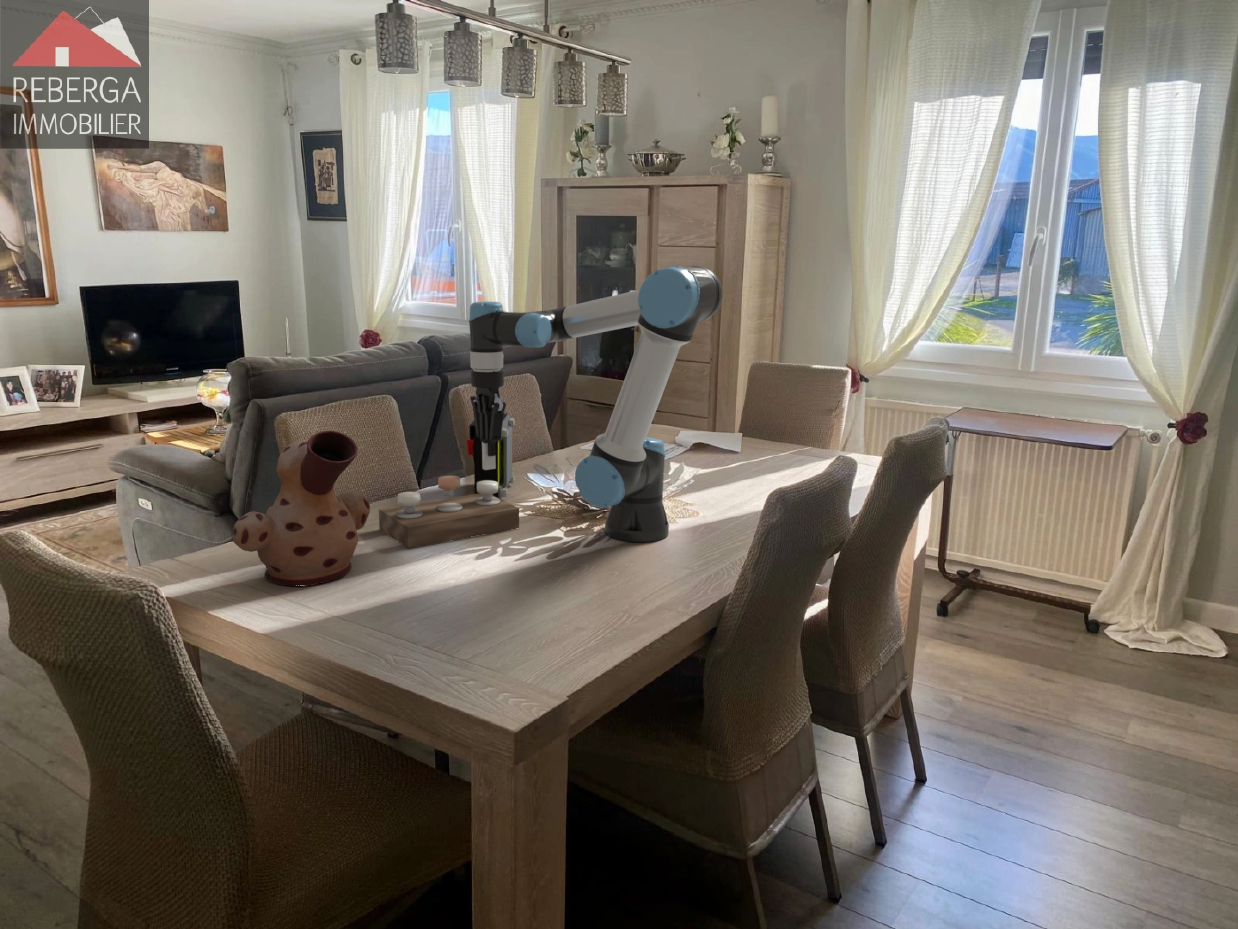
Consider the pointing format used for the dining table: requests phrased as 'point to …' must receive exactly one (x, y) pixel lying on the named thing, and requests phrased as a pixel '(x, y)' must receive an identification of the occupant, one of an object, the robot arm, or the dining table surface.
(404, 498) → the left knob
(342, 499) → the vessel
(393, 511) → the knob bar
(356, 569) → the dining table surface
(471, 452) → the electrical component
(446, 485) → the middle knob
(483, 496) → the right knob
